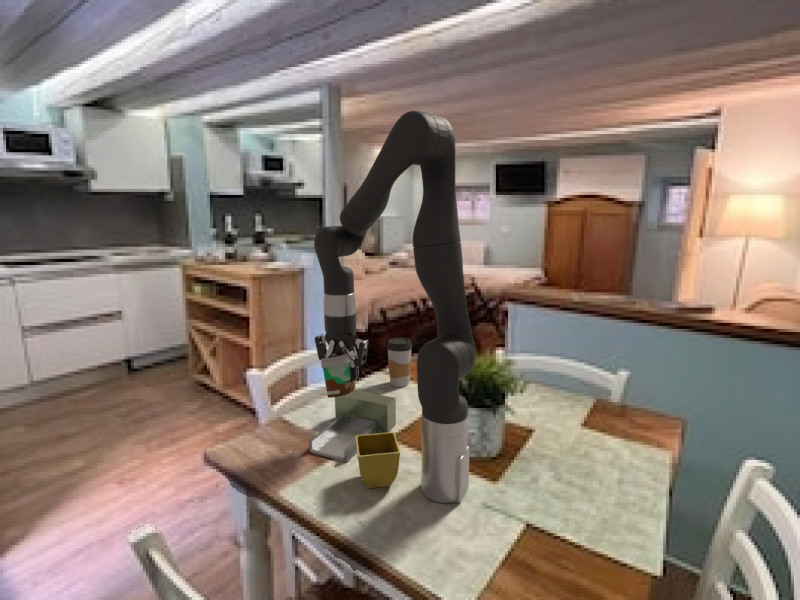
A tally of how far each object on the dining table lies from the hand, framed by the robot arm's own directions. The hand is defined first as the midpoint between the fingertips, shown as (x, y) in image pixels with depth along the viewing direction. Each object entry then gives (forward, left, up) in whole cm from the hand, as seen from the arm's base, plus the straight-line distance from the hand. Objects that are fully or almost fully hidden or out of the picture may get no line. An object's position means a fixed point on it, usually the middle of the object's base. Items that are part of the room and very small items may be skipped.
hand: (342, 378), depth 108 cm
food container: (-1, 0, -3) cm, 3 cm away
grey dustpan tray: (0, -3, -17) cm, 17 cm away
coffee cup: (+3, -40, -17) cm, 44 cm away
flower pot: (-15, +11, -17) cm, 25 cm away
